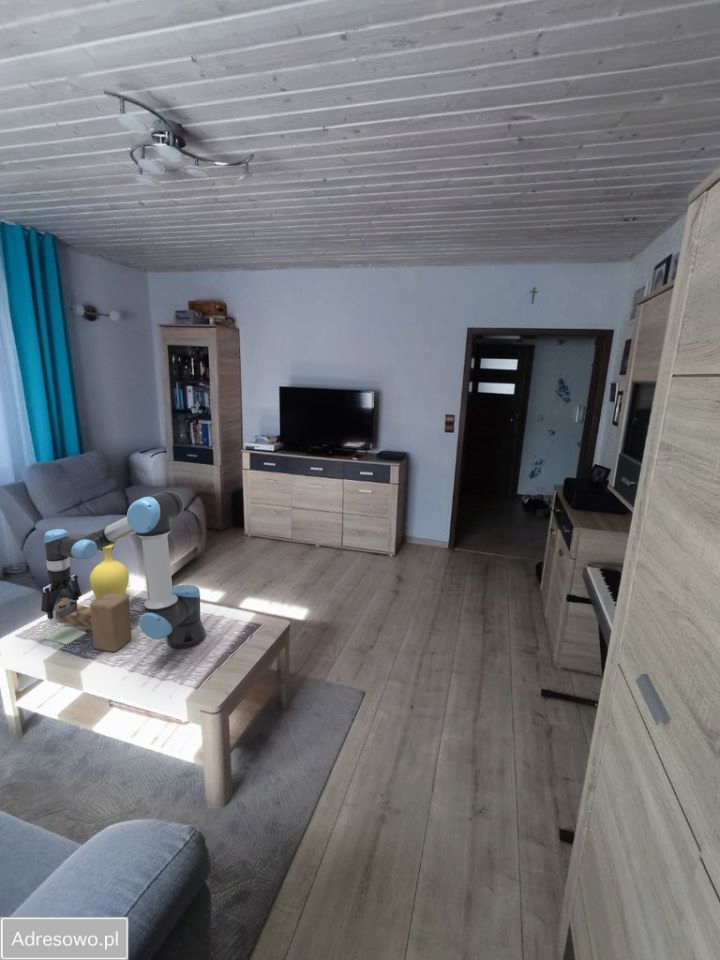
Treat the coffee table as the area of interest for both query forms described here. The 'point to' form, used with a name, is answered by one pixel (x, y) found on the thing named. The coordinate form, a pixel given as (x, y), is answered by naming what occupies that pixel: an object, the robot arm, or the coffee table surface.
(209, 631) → the coffee table surface
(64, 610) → the lever cap
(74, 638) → the felt mat
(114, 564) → the vase
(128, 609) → the wooden block
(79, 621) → the body
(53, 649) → the coffee table surface
